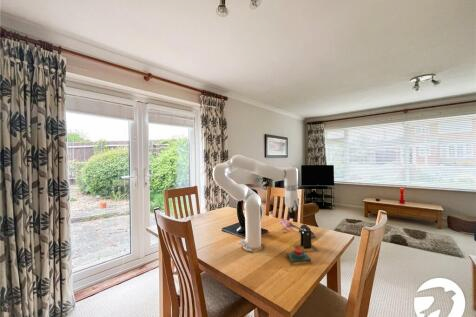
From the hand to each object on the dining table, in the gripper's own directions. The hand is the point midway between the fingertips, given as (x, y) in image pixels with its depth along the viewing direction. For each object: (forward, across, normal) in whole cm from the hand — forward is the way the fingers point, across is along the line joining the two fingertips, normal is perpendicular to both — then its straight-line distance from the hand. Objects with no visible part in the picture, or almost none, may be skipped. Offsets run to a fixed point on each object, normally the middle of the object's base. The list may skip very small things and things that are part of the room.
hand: (292, 218), depth 121 cm
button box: (+19, +12, -2) cm, 23 cm away
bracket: (+19, 0, +8) cm, 21 cm away
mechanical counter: (+19, -17, +17) cm, 31 cm away
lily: (+19, -29, +7) cm, 36 cm away
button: (+16, +12, -2) cm, 20 cm away
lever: (+8, 0, +4) cm, 9 cm away
